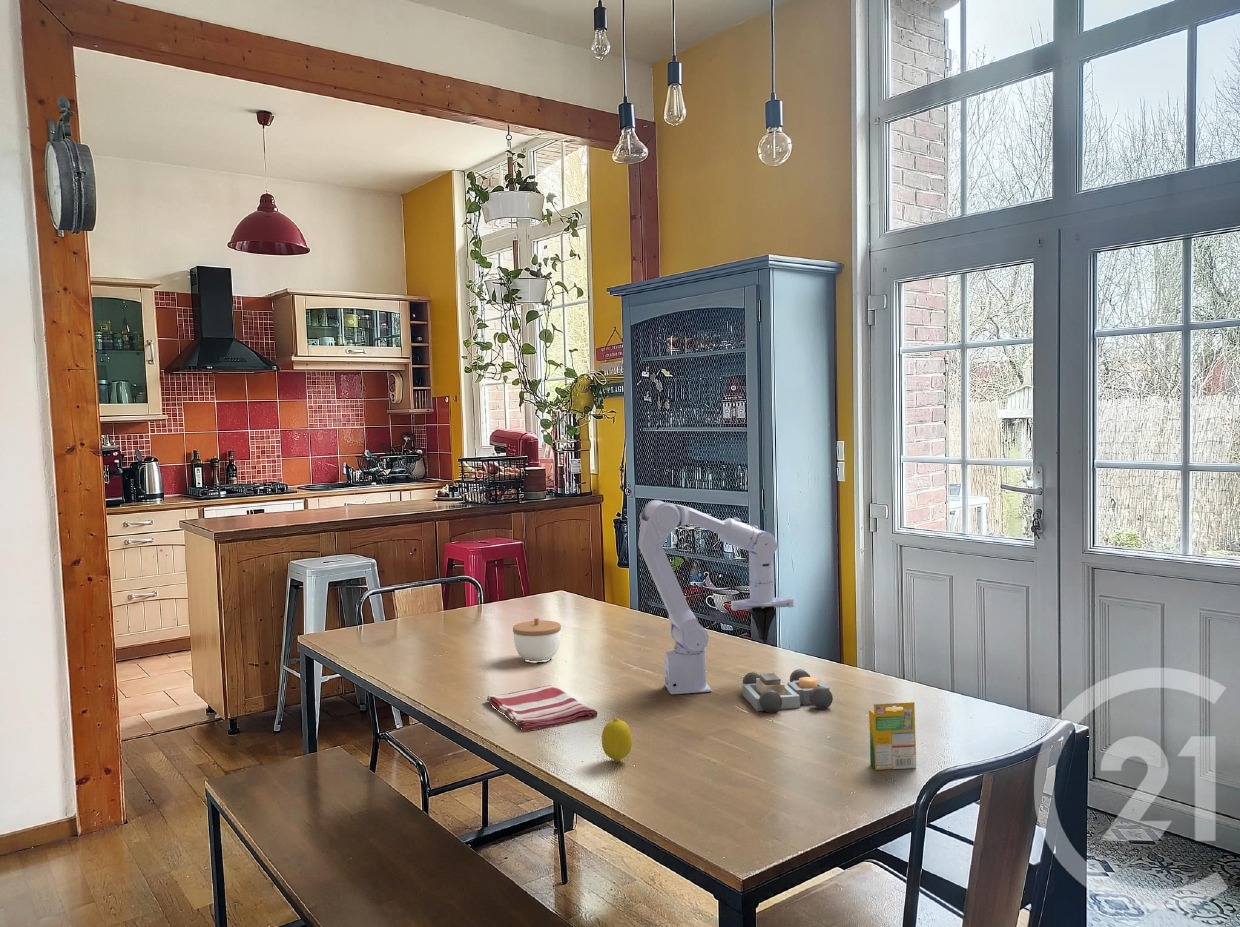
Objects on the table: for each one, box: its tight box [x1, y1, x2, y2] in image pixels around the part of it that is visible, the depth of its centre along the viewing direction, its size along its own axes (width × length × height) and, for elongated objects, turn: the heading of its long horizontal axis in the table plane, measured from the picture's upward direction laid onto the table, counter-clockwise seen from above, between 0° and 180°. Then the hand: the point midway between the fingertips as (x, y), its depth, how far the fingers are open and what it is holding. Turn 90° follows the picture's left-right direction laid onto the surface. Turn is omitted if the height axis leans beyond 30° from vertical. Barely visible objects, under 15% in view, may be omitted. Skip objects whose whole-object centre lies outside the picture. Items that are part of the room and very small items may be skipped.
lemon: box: [601, 717, 633, 763], centre depth 157 cm, size 6×6×8 cm
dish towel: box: [486, 684, 599, 732], centre depth 189 cm, size 17×23×3 cm
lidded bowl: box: [512, 617, 562, 661], centre depth 229 cm, size 13×13×11 cm
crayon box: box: [868, 701, 917, 771], centre depth 151 cm, size 7×3×12 cm, turn 92°
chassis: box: [742, 668, 834, 714], centre depth 189 cm, size 17×15×4 cm
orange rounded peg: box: [799, 676, 818, 689], centre depth 190 cm, size 4×4×4 cm
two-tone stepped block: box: [756, 672, 785, 696], centre depth 189 cm, size 4×6×6 cm
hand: (763, 638), depth 204 cm, fingers closed
